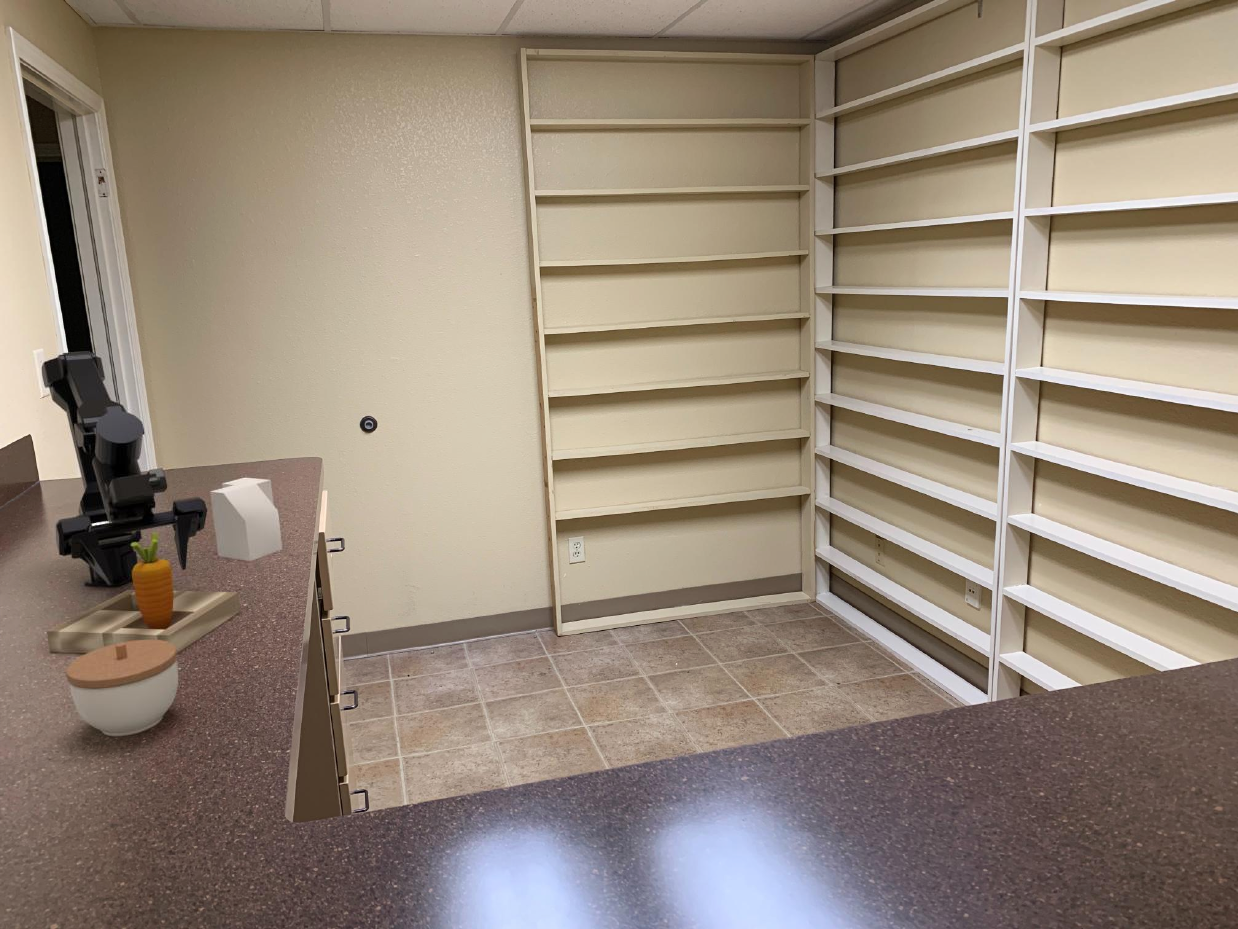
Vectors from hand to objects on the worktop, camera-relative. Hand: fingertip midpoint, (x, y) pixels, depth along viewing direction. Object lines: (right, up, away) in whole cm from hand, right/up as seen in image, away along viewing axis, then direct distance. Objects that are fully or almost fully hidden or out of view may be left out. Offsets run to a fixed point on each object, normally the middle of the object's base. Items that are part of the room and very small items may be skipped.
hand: (148, 576), depth 123 cm
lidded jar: (+11, -14, -24) cm, 29 cm away
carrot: (+2, -9, 0) cm, 9 cm away
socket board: (-1, -8, +3) cm, 9 cm away
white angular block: (-3, 0, +41) cm, 41 cm away
